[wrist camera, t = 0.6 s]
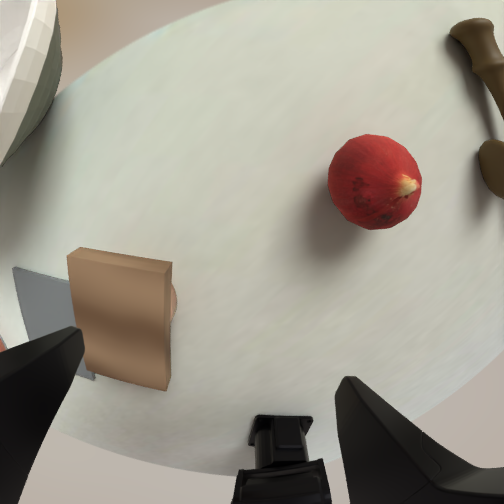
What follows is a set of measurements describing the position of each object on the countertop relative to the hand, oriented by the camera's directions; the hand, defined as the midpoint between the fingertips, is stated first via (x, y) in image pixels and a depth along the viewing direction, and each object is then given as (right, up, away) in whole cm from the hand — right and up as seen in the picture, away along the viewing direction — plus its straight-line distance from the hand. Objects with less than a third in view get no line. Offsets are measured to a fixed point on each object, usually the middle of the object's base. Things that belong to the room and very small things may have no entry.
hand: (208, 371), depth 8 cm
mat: (-20, -4, +15) cm, 25 cm away
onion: (+9, +9, +11) cm, 17 cm away
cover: (-8, -1, +10) cm, 13 cm away
